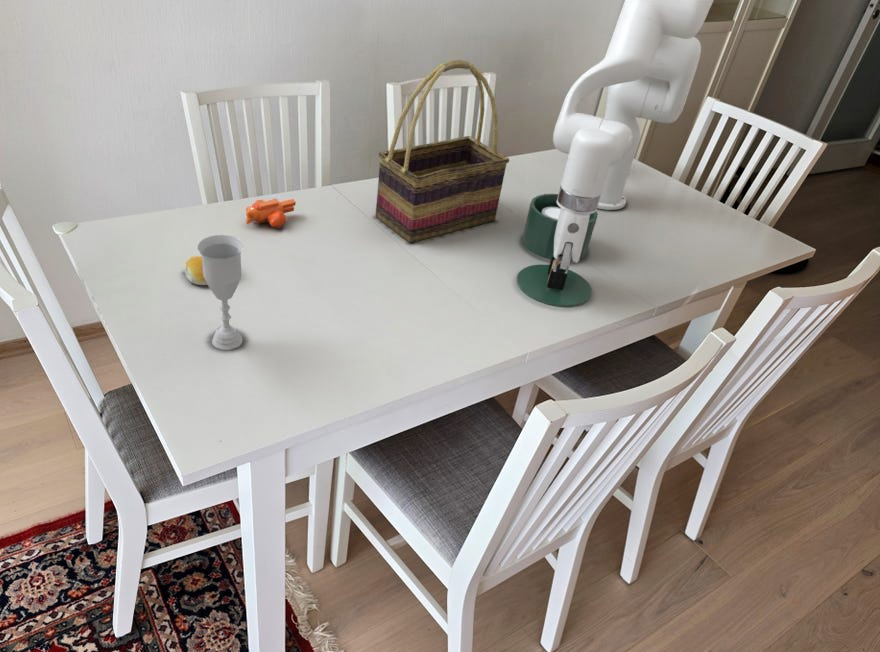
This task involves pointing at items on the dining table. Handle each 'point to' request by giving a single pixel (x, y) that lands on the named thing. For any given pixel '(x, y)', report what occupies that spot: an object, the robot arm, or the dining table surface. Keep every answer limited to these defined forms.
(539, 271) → the lid
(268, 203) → the orange plastic lumpy piece
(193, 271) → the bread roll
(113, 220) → the dining table surface
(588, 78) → the robot arm
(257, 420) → the dining table surface
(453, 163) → the basket
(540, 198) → the tin
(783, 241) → the dining table surface
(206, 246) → the chalice
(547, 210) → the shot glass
